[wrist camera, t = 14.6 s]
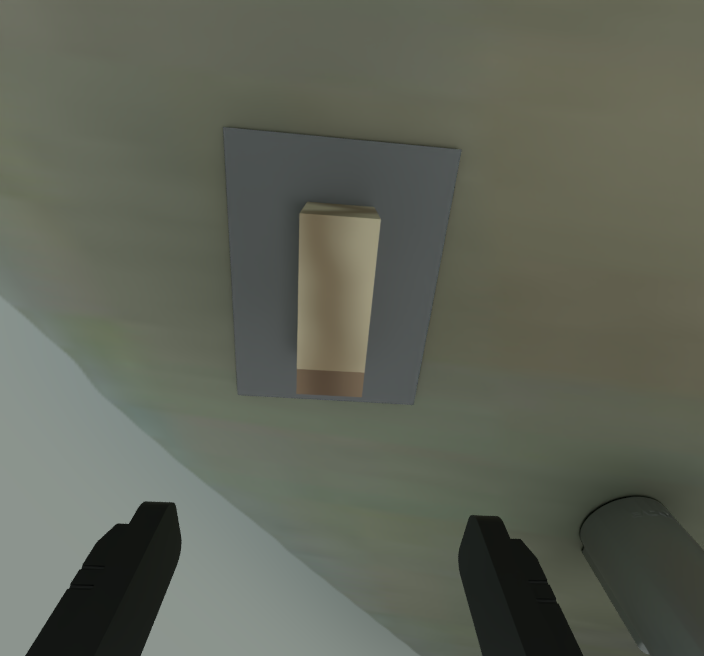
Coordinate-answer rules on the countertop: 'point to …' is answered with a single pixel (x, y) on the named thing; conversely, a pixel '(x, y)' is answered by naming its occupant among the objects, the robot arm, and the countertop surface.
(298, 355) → the maple bar
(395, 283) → the mat
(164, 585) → the robot arm
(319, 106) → the countertop surface
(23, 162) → the countertop surface
